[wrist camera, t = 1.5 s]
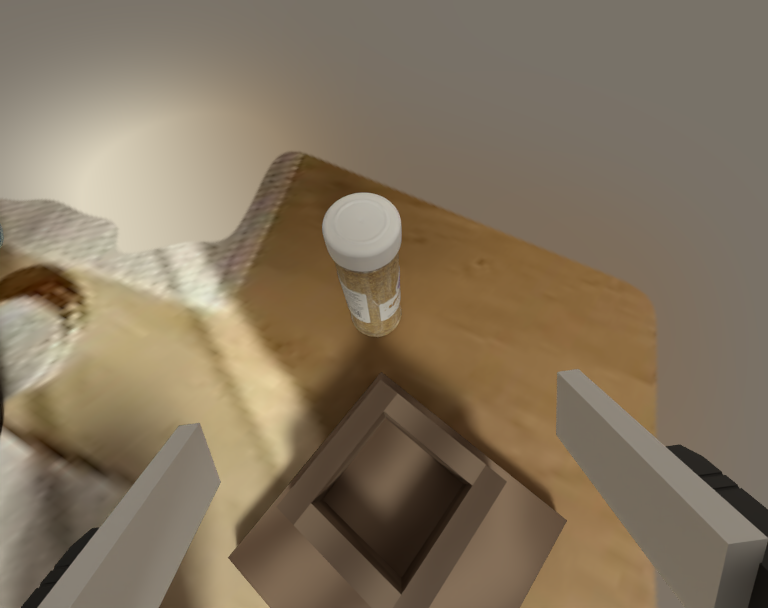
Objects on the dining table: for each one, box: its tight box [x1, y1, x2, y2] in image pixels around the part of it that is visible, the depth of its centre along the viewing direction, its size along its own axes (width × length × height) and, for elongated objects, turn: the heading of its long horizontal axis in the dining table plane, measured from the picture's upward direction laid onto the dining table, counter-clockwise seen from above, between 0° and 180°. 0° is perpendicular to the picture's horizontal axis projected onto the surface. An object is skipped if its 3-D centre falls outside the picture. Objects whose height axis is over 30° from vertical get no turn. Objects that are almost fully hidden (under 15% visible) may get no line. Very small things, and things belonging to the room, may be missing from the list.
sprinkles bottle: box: [322, 193, 402, 337], centre depth 27 cm, size 5×5×14 cm
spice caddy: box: [228, 372, 567, 608], centre depth 23 cm, size 16×16×5 cm
